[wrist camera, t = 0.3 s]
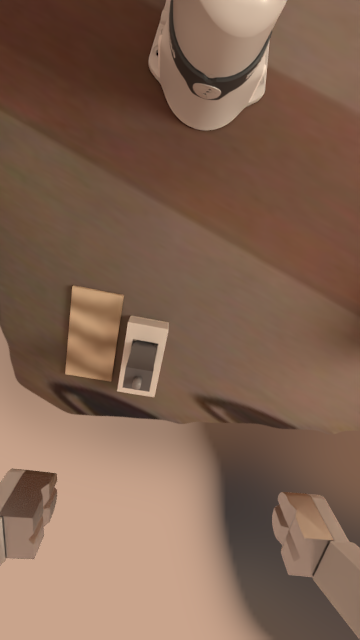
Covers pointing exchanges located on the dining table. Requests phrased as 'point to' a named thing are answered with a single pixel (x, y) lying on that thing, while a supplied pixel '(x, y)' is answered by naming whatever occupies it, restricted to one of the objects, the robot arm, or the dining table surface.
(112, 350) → the oak board
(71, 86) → the dining table surface
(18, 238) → the dining table surface
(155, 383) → the beige holder tray
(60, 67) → the dining table surface
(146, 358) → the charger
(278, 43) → the dining table surface
